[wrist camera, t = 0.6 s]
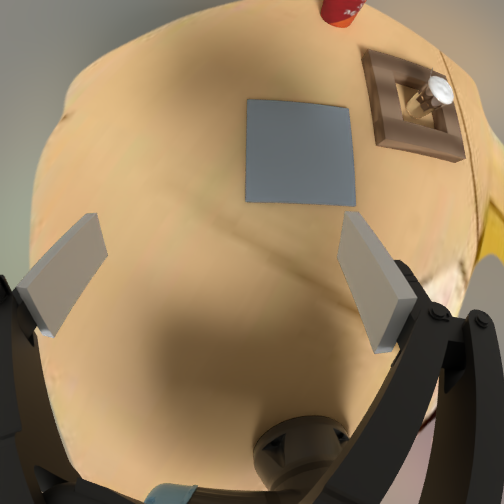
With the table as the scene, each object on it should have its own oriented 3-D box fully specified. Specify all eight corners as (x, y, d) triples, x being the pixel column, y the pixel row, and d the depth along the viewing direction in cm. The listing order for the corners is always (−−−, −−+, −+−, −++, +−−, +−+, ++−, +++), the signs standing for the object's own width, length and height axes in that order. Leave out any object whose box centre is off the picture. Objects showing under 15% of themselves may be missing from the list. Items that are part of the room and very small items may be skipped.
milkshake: (403, 90, 34) (435, 61, 24) (427, 111, 35) (462, 87, 25) (394, 105, 34) (428, 76, 24) (419, 128, 35) (457, 104, 25)
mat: (354, 206, 34) (355, 205, 34) (245, 202, 34) (245, 201, 33) (347, 110, 34) (348, 108, 33) (247, 101, 33) (247, 99, 33)
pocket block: (454, 162, 35) (465, 158, 32) (375, 145, 34) (385, 138, 31) (436, 82, 35) (445, 75, 32) (361, 59, 34) (368, 49, 31)
